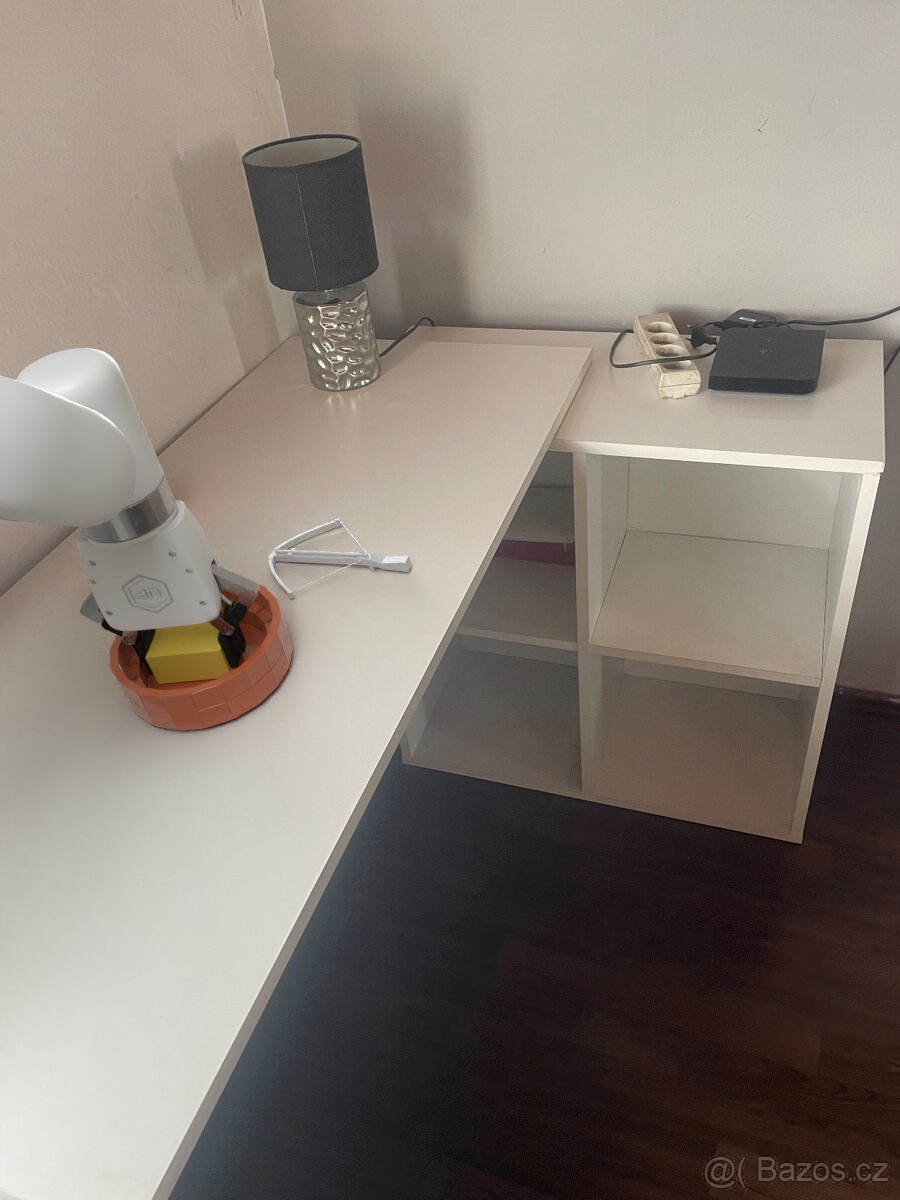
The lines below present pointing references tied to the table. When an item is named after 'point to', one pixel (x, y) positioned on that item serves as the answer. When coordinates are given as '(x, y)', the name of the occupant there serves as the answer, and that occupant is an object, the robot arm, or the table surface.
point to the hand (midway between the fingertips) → (197, 659)
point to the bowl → (211, 697)
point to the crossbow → (331, 556)
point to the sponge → (187, 654)
